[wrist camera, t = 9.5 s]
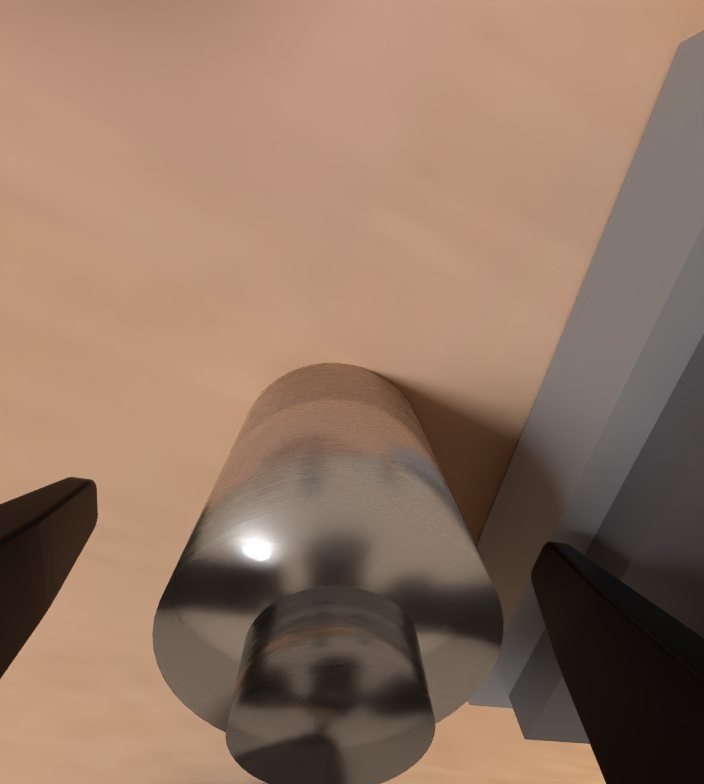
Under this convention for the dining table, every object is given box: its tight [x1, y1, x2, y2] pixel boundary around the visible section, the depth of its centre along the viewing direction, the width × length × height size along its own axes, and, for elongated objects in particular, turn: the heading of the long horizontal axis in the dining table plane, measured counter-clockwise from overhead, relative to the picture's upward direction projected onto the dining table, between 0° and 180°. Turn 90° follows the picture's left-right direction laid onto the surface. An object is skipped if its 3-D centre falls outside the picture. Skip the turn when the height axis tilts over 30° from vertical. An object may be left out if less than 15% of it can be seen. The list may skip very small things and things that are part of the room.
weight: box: [153, 363, 504, 784], centre depth 8 cm, size 5×5×7 cm
